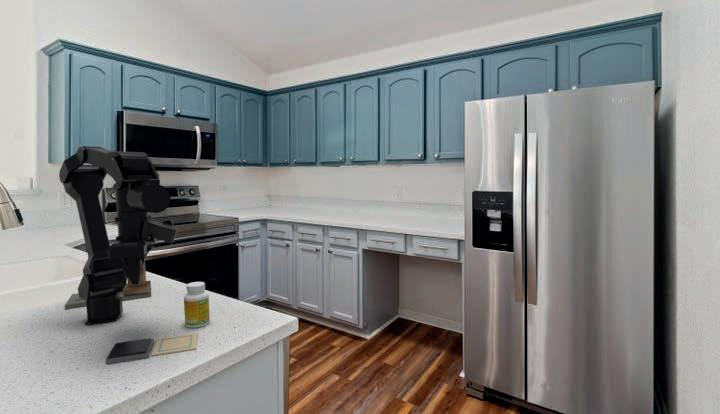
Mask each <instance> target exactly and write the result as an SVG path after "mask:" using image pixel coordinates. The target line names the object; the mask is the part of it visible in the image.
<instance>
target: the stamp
mask: <svg viewBox="0 0 720 414" xmlns="http://www.w3.org/2000/svg"><path fill="white" fill-rule="evenodd" d="M151 282H152V281H151V280H147V271H146V262H141V270H140V277H139V283H138V284H132V283H131V281H130V280H129V278H128V276H127V284H126V285H125V287H124V288H123V295H124V297H127V296H136V295H145V294H148V293H149V291H150V289H151V290H152V283H151Z"/></svg>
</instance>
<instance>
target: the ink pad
mask: <svg viewBox="0 0 720 414" xmlns="http://www.w3.org/2000/svg"><path fill="white" fill-rule="evenodd" d="M154 345H155V340H154V338H153V337H149V338H142V339H134V340H127V341H119V342H116V343H114V344H113V347H112V348H111V350H110V352H109V353H108V354H107V356H106V358H105V365H112V364H119V363H123V362H124V363H125V362H131V361H132V362H133V361H139V360H143V359H149V357H150V356H151V353H152V350H153V348H154Z"/></svg>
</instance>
